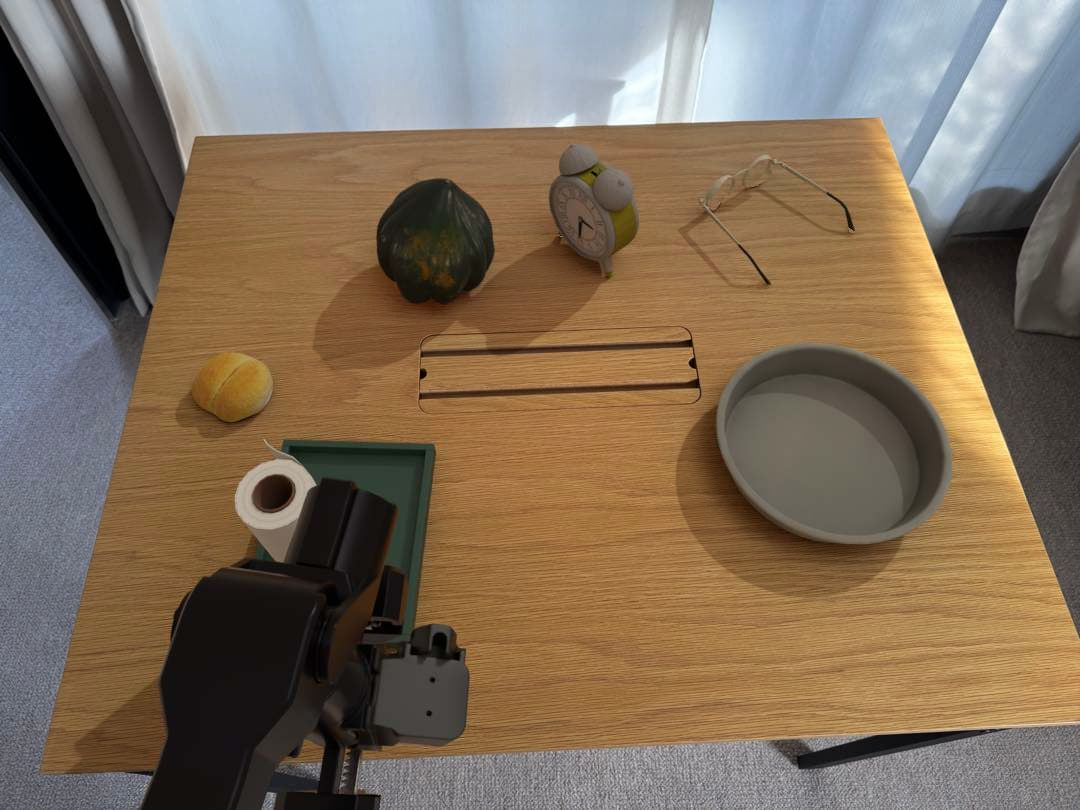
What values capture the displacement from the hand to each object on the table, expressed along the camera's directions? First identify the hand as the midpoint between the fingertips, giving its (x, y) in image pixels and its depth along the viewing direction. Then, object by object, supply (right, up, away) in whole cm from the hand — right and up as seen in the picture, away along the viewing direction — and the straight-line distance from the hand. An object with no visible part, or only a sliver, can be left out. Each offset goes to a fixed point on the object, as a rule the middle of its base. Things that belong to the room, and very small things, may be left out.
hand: (368, 726), depth 58 cm
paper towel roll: (-7, +7, +19) cm, 22 cm away
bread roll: (-23, +26, +32) cm, 47 cm away
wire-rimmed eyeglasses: (+44, +48, +46) cm, 80 cm away
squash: (0, +41, +42) cm, 59 cm away
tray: (-7, +10, +22) cm, 25 cm away
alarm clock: (+20, +45, +44) cm, 66 cm away
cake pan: (+44, +19, +27) cm, 55 cm away
